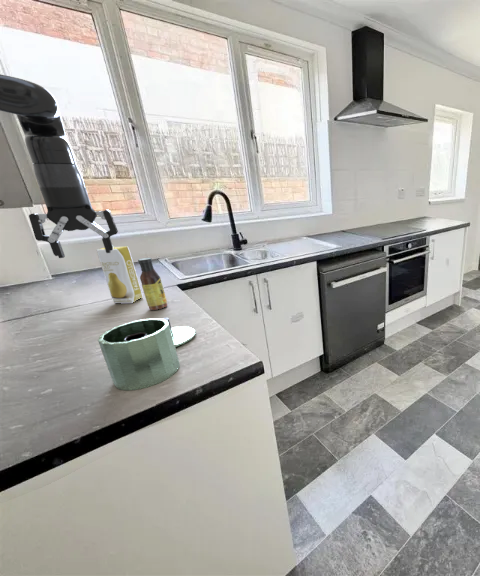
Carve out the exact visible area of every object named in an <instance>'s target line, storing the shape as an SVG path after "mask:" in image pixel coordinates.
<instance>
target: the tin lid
mask: <svg viewBox="0 0 480 576" xmlns="http://www.w3.org/2000/svg"><path fill="white" fill-rule="evenodd" d="M161 319H164V320H167V321H168V323H169V326H170V330H171V334H172V337H173V341H174V345H175V348H177V347H179V346H181V345H184V344H186V343H188V342H189V341H191V340H192V339H193V338H194V337H195V336H196V329H194V328H193V327H190V326H174V327H172V325H171V321H170V318H169V317H162V318H161Z"/></svg>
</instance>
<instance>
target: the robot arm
mask: <svg viewBox="0 0 480 576" xmlns="http://www.w3.org/2000/svg"><path fill="white" fill-rule="evenodd" d="M0 112H3V113H8V114H12V115H16V117H17V119H18V122H19V125H20V128H21V129H22V133H23V134H24V143H25V147H26V151H27V153H28V155H29V158H30V161H31V164H32V168H33V172H34V173H33V174H34V177H35V180H36V182H37V185H38V187H39V191H40V193H41V196H42V199H43V202H44V204H45V207H46V209H47V212H46V213H37V212H33V213H29V215H28V219H29V222H30V225H31V228H32V233H33V236H34V239H35V240H36V241H39V242H47V243H48V244H49V245H50V249H51V251H52V253H53V255H54V256H55V257H58V259H64V258H65V256H66V255H65V252H64V250H63V247H62V244H61V241H59V238H60V237H61V235H62V234H63V233H64V231H67V232H74V231H86V230H88V229H90V230H91V231H93V232H94V233H96V234H98V235H99V236H101V237H102V238H101V240H102V244H103V248H105V250H106V253H111V250H113V247H114V245H113V243H112V238H111V237H112V236H115V235H117V234H118V233H119V229H118V228H117V225H116V222H115V220H114V217H113V213H112V212H111V210H109V209H104V210H96V211H95V209H94V208H93V207H92V203H91V200H90V197H89V194H88V190H87V187H86V182H85V180H84V178H83V175H82V173H81V171H80V169H79V166H78V165H77V161H76V158H75V154H74V151H73V149H72V146H71V144H70V142H69V140H68V138H67V135H66V132H65V131H66V130H65V127H64V123H63V119H62V116H61V112H60V108H59V104H58V101H57V99H56V98H55V95H54V94H52V93H51V92H50V90H48V89H47V88H45V87H43V86H42V85H40V84H38V83H36V82H32V81H29V80H27V79H24V78H19V77H15V76H10V75H5V74H0ZM97 217H100V218H101V219H102V220H105V221H106V224H107V226H108V229H109V230H105V229H104V228H103V227H101V225H99V224H97V223H96V222H95V220H96V218H97ZM46 220H49V221H51V222H52V223H53V224H55V226H54V228H53V230H52V231H51V233H50V234H49V235H48V234H46V231H45V229H44V225H43V224H45V223H46ZM112 245H113V246H112Z"/></svg>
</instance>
